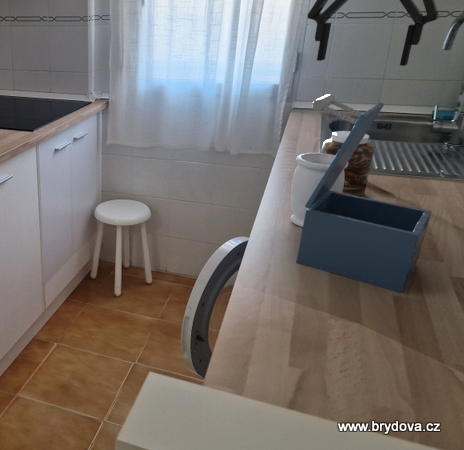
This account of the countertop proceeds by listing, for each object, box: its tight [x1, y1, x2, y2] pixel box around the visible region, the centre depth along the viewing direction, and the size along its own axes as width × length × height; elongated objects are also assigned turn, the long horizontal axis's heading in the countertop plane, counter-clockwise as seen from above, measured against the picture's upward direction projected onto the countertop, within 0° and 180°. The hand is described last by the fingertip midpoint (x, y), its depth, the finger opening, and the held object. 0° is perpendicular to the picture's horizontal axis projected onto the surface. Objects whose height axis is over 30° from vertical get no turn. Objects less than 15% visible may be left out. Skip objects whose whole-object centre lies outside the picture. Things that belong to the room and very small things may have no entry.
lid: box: [305, 93, 385, 208], centre depth 101 cm, size 19×14×9 cm
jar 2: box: [320, 130, 375, 197], centre depth 139 cm, size 12×12×15 cm
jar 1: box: [290, 152, 348, 228], centre depth 120 cm, size 11×10×15 cm
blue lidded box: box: [295, 191, 432, 294], centre depth 102 cm, size 18×14×11 cm
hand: (360, 62), depth 98 cm, fingers open, 13 cm apart
